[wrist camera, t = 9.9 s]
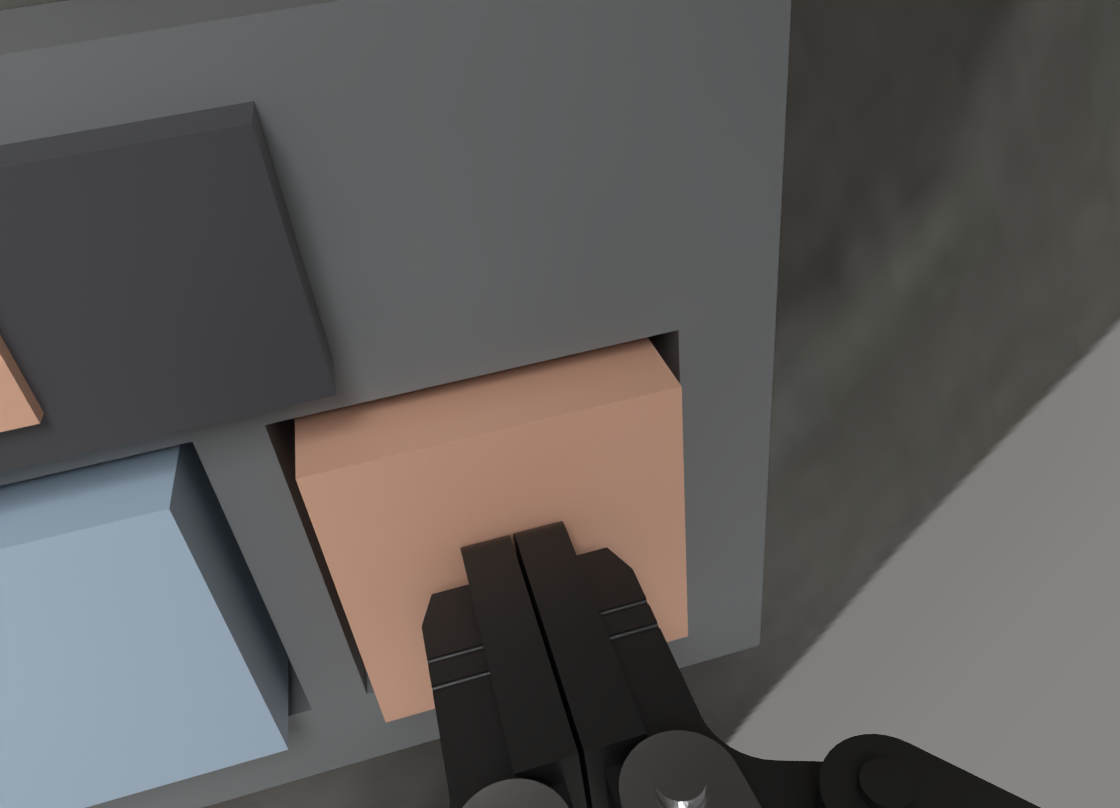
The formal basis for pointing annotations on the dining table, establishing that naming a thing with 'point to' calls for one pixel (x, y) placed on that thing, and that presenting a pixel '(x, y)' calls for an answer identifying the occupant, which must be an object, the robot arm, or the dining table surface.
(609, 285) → the keypad board
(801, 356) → the dining table surface
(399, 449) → the block
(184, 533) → the key blue
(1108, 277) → the dining table surface
